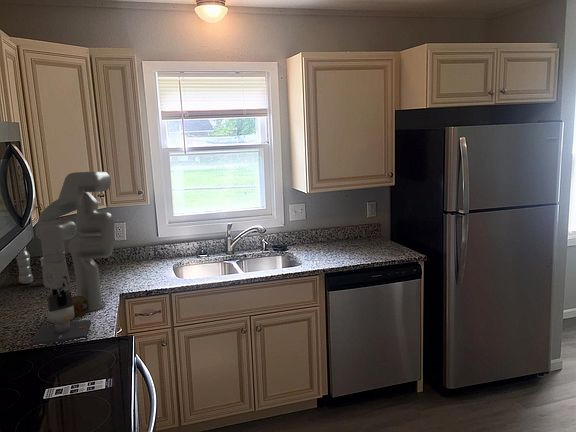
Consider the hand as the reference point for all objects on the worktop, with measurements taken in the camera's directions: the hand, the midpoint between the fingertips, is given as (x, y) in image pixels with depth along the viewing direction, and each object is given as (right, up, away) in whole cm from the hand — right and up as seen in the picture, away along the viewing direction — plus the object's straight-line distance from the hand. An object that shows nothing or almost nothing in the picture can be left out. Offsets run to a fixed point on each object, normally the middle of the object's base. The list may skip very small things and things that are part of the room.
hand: (59, 304), depth 184 cm
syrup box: (-37, -2, +70) cm, 80 cm away
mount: (+1, -12, +2) cm, 12 cm away
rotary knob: (+1, -5, 0) cm, 5 cm away
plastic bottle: (-51, -2, +73) cm, 89 cm away
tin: (-5, -9, +21) cm, 23 cm away
